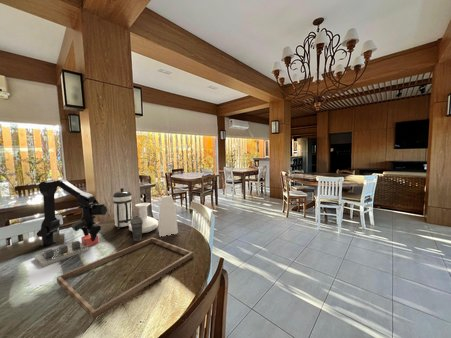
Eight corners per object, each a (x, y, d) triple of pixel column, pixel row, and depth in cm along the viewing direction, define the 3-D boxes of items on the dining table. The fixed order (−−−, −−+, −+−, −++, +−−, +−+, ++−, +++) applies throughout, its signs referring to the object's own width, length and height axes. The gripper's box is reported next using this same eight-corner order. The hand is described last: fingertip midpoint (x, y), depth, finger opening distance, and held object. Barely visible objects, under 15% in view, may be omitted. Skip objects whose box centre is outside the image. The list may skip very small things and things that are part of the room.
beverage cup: (138, 242, 122) (137, 211, 121) (128, 241, 124) (127, 210, 122) (145, 237, 129) (144, 208, 128) (136, 236, 131) (134, 207, 129)
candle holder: (149, 236, 131) (148, 208, 130) (122, 234, 134) (121, 207, 133) (163, 225, 151) (162, 201, 150) (139, 224, 154) (138, 200, 153)
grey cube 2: (59, 252, 107) (58, 246, 106) (65, 249, 109) (65, 244, 109) (61, 253, 105) (60, 248, 105) (67, 251, 107) (67, 246, 107)
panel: (34, 259, 104) (34, 254, 103) (79, 244, 120) (78, 240, 120) (42, 266, 96) (41, 262, 96) (88, 250, 113) (87, 246, 113)
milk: (175, 228, 146) (174, 194, 144) (177, 233, 136) (176, 197, 134) (158, 230, 141) (157, 195, 139) (159, 236, 131) (158, 198, 129)
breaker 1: (44, 256, 102) (44, 251, 102) (51, 254, 104) (51, 248, 104) (46, 258, 100) (45, 252, 100) (53, 255, 103) (53, 250, 102)
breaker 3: (72, 247, 112) (71, 242, 112) (78, 245, 114) (77, 240, 114) (74, 248, 110) (73, 243, 110) (80, 246, 113) (80, 241, 112)
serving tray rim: (57, 282, 84) (56, 276, 84) (152, 241, 124) (152, 237, 124) (93, 320, 65) (92, 313, 65) (193, 256, 105) (192, 252, 104)
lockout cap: (81, 244, 121) (81, 237, 120) (93, 240, 126) (93, 233, 126) (86, 246, 117) (85, 239, 117) (98, 242, 123) (97, 235, 122)
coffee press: (106, 229, 144) (104, 189, 141) (121, 222, 159) (120, 186, 157) (128, 231, 141) (126, 190, 138) (141, 223, 156) (139, 186, 154)
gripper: (66, 216, 119) (68, 240, 120) (79, 221, 108) (80, 248, 110) (87, 211, 128) (88, 234, 129) (100, 216, 118) (102, 241, 119)
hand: (89, 239), depth 121 cm, fingers open, 9 cm apart
